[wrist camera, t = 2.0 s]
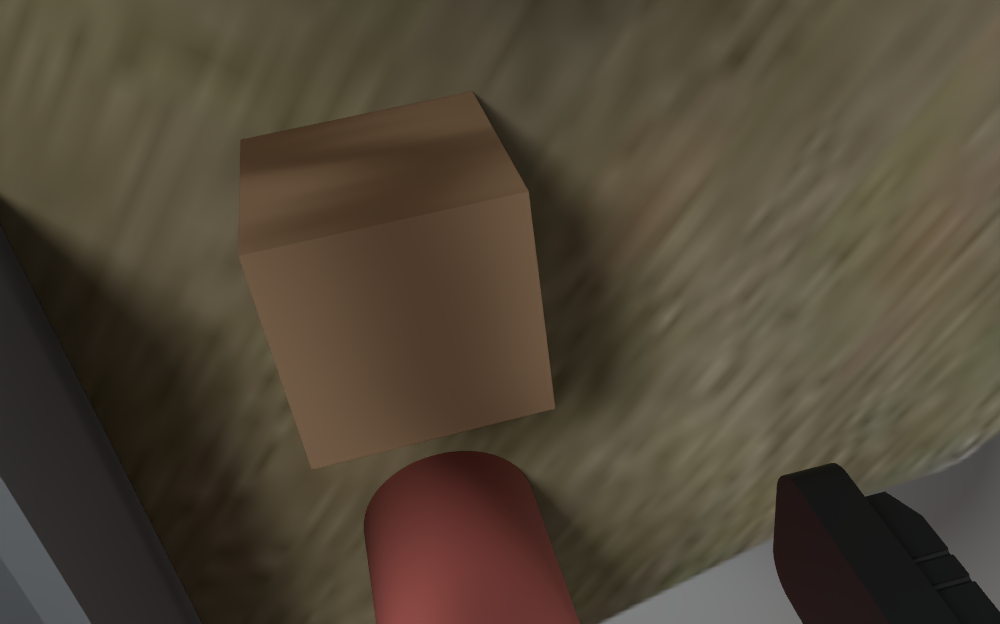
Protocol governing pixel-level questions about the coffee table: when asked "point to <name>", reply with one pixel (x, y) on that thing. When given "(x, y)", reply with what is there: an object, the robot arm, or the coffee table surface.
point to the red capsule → (462, 546)
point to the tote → (67, 490)
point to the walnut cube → (394, 276)
